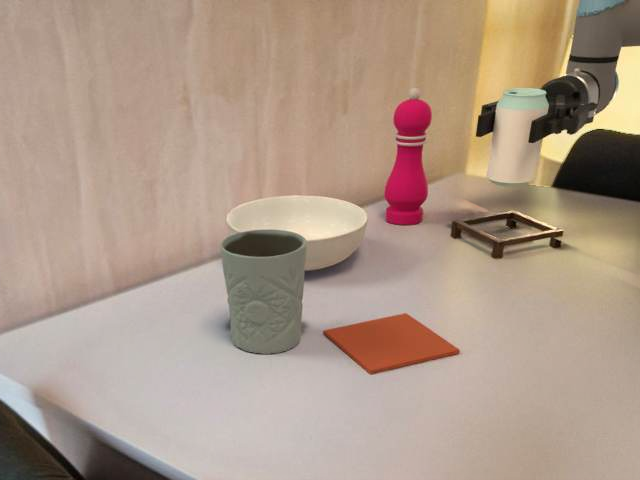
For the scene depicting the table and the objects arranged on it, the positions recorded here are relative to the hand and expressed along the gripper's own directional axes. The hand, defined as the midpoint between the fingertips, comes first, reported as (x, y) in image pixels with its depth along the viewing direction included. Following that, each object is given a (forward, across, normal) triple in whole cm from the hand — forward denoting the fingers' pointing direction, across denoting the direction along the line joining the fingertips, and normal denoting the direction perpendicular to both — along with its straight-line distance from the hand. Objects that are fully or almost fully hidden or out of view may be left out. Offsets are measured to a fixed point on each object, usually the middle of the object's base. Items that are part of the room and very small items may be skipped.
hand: (505, 129), depth 106 cm
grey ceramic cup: (+43, -10, +18) cm, 47 cm away
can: (-5, 0, +8) cm, 10 cm away
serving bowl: (+18, -23, +18) cm, 34 cm away
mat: (+35, +3, +18) cm, 39 cm away
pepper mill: (-9, -19, +18) cm, 27 cm away
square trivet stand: (-7, 0, +17) cm, 19 cm away
